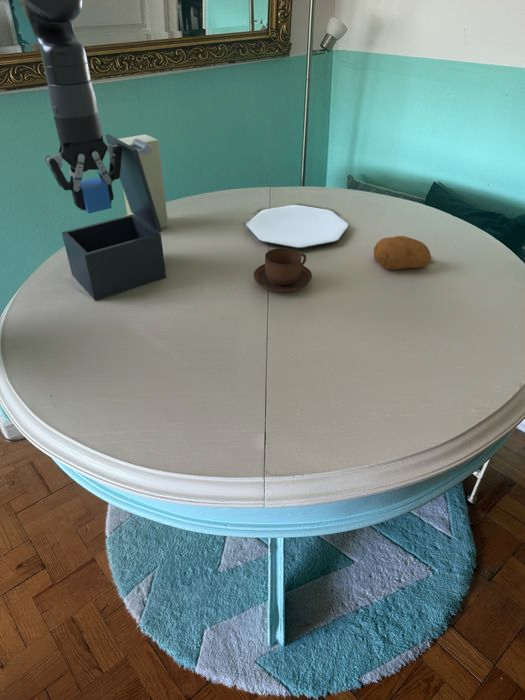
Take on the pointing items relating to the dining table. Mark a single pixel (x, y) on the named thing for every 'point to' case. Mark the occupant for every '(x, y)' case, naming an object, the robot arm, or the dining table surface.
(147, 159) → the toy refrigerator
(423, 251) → the potato
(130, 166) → the freezer lid
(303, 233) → the plate
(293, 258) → the cup and saucer
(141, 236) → the box
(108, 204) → the blue cube
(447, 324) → the dining table surface
